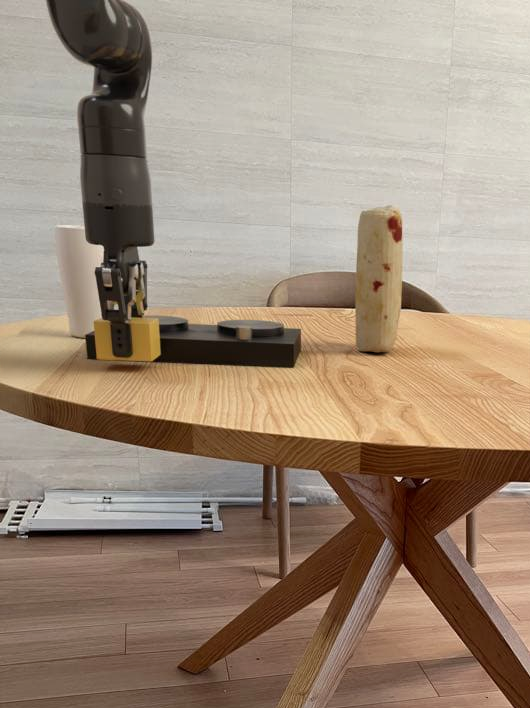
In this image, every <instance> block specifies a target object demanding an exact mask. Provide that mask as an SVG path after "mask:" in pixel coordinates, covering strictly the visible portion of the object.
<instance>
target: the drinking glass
mask: <svg viewBox="0 0 530 708" xmlns="http://www.w3.org/2000/svg"><path fill="white" fill-rule="evenodd" d="M54 241H55V249H56V251H55V252H56V258H57V264H58V269H59V274H60V275H59V276H60V280H61V285H62V291H63V297H64V302H65V307H66V308H65V309H66V313H67V319H68V328H69V333H70V335H71V336H72V337H75V338H80V339H86V338H85V335H86V334H88V333H90V332H92V331H94V321H96V320H98V319H100V318H102V315H101V307H100V301H99V295H98V289H97V282H96V276H95V268H96V267H101V262H103V257H104V247H103V246H102V245H93V244H90V243H88V242H87V241H86V238H85V227H84V225H69V224H68V225H67V224H65V225H63V224H61V225H60V224H59V225H55V226H54Z"/></svg>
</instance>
